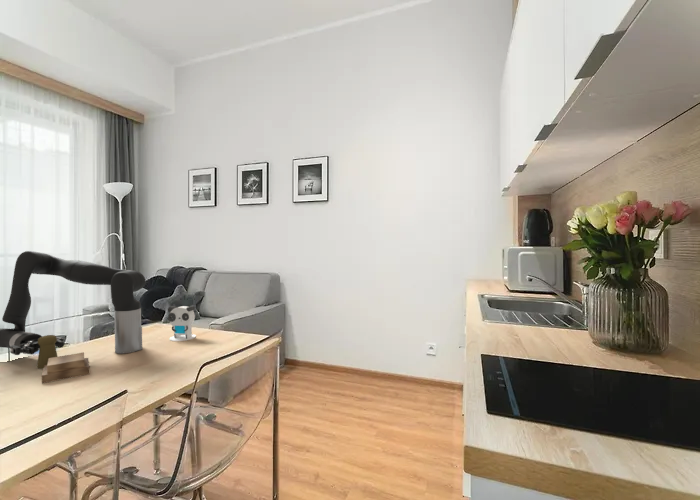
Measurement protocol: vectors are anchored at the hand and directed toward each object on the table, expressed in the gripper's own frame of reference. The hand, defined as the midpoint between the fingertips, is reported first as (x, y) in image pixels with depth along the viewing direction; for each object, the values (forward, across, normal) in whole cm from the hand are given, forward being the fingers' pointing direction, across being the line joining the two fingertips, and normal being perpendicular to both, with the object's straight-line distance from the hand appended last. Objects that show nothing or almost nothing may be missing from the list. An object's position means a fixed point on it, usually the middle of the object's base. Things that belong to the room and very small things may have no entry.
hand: (47, 347), depth 123 cm
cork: (0, 0, +7) cm, 7 cm away
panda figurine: (+12, +46, +7) cm, 48 cm away
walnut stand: (+15, -1, +6) cm, 16 cm away
